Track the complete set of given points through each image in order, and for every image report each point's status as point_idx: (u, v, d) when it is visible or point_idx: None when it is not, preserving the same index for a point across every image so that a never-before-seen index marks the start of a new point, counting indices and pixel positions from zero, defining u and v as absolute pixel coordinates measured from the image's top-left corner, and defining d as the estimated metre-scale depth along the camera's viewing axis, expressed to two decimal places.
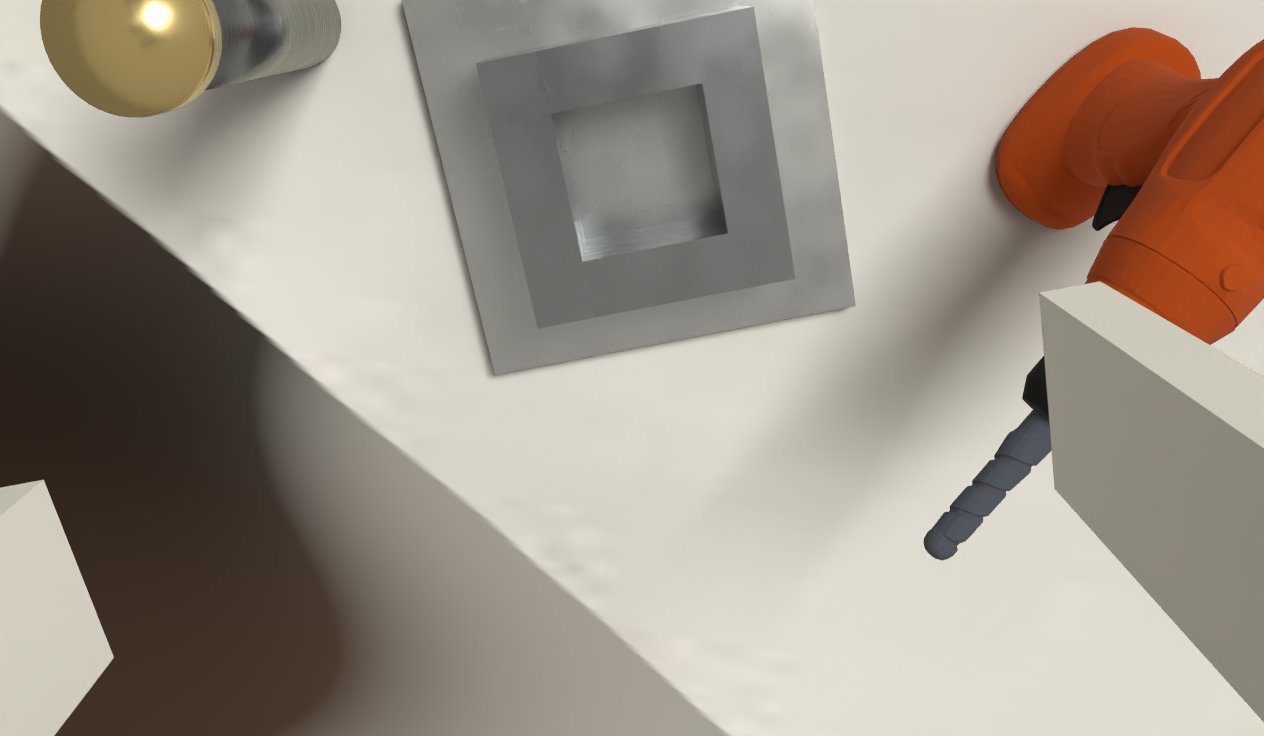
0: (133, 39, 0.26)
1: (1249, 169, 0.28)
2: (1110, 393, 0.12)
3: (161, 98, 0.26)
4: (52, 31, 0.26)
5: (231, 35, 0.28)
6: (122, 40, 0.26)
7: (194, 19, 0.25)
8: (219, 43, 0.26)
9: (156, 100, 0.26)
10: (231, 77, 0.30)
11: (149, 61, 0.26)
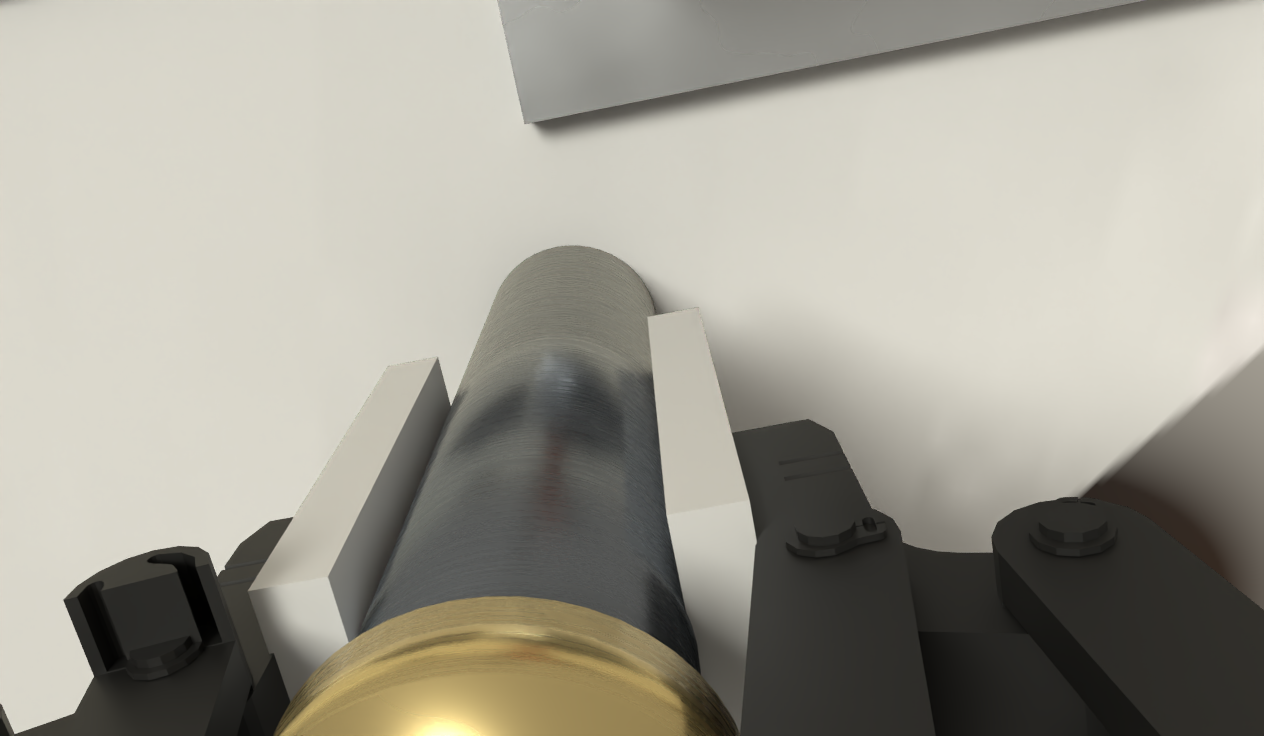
0: None
1: None
2: None
3: None
4: None
5: (536, 532, 0.10)
6: None
7: (439, 710, 0.07)
8: (537, 610, 0.08)
9: None
10: (658, 520, 0.11)
11: None
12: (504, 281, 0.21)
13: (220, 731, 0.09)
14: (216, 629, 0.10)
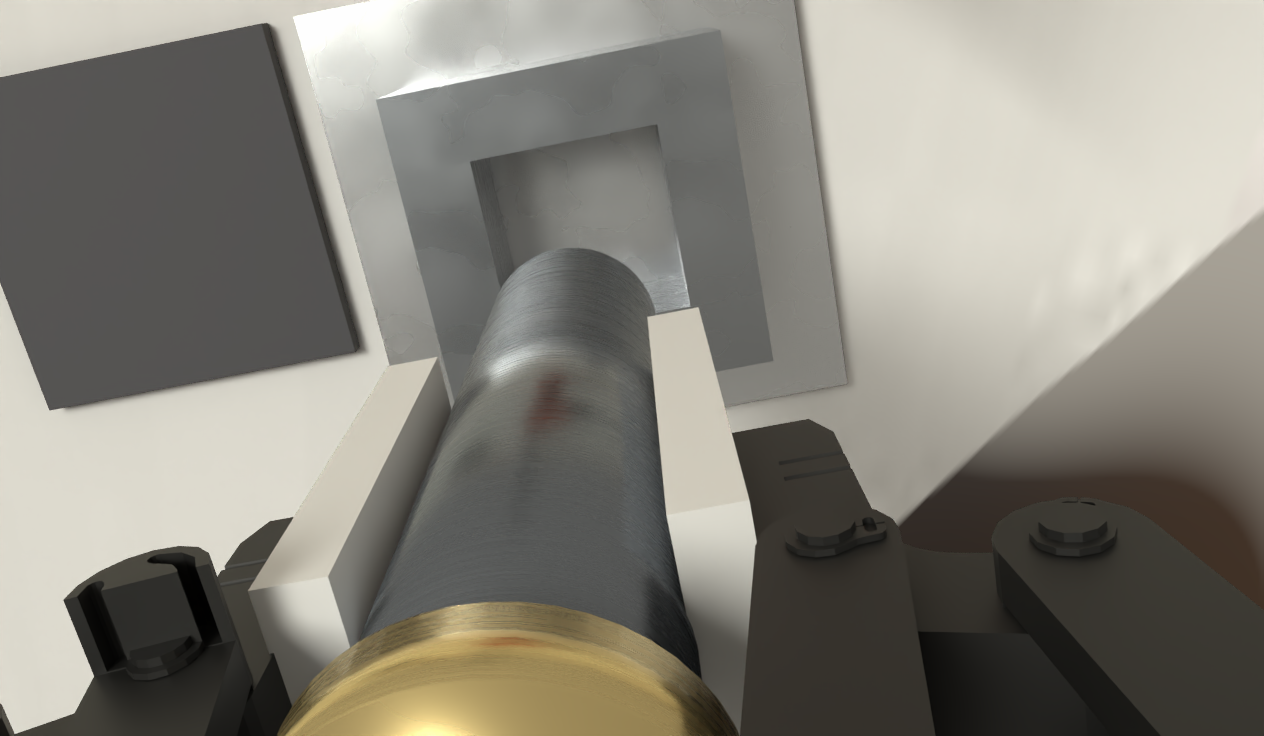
0: None
1: None
2: None
3: None
4: None
5: (536, 537, 0.10)
6: None
7: (440, 716, 0.07)
8: (538, 616, 0.08)
9: None
10: (659, 524, 0.11)
11: None
12: (504, 283, 0.21)
13: (220, 731, 0.09)
14: (216, 629, 0.10)
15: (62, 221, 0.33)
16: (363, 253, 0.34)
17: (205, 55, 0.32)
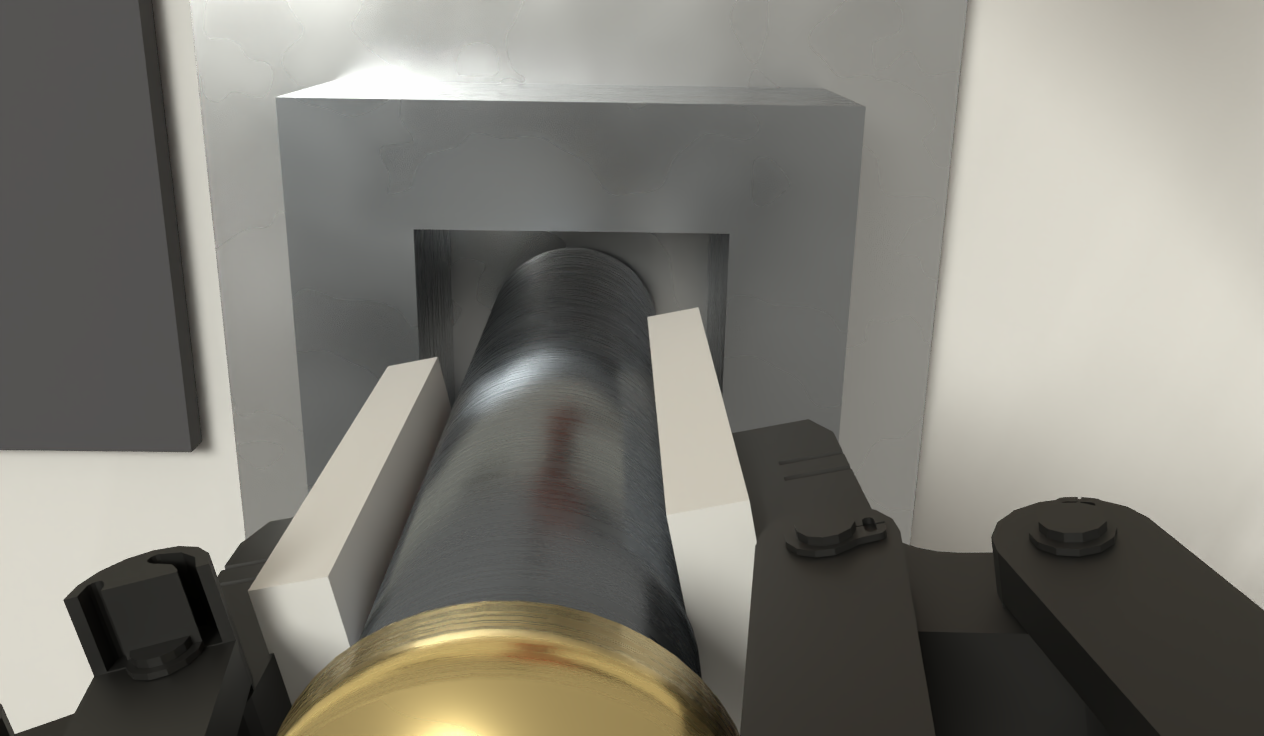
0: None
1: None
2: None
3: None
4: None
5: (537, 535, 0.10)
6: None
7: (441, 714, 0.07)
8: (540, 614, 0.08)
9: None
10: (659, 524, 0.11)
11: None
12: (505, 283, 0.21)
13: (220, 731, 0.09)
14: (216, 629, 0.10)
15: None
16: (229, 314, 0.22)
17: None
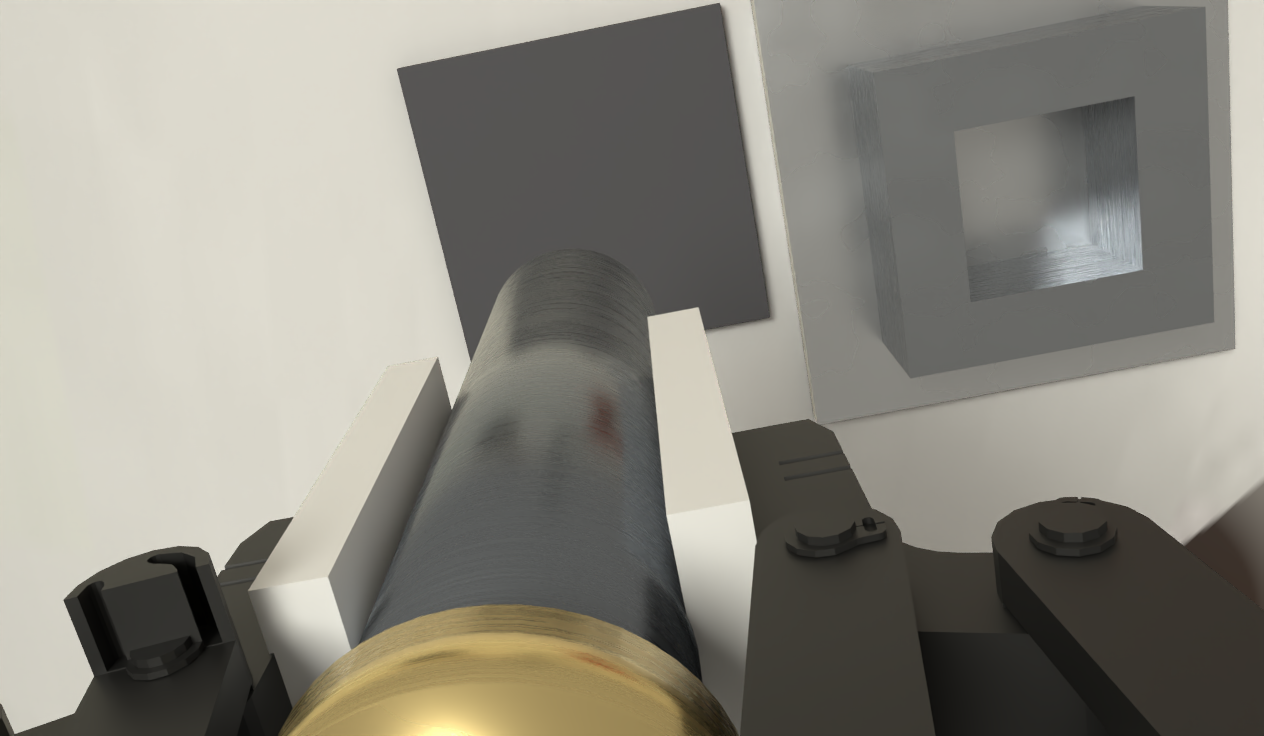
0: None
1: None
2: None
3: None
4: None
5: (537, 539, 0.10)
6: None
7: (441, 720, 0.07)
8: (538, 617, 0.08)
9: None
10: (659, 526, 0.11)
11: None
12: (505, 284, 0.21)
13: (220, 731, 0.09)
14: (216, 629, 0.10)
15: (508, 192, 0.35)
16: (791, 222, 0.35)
17: (663, 33, 0.34)
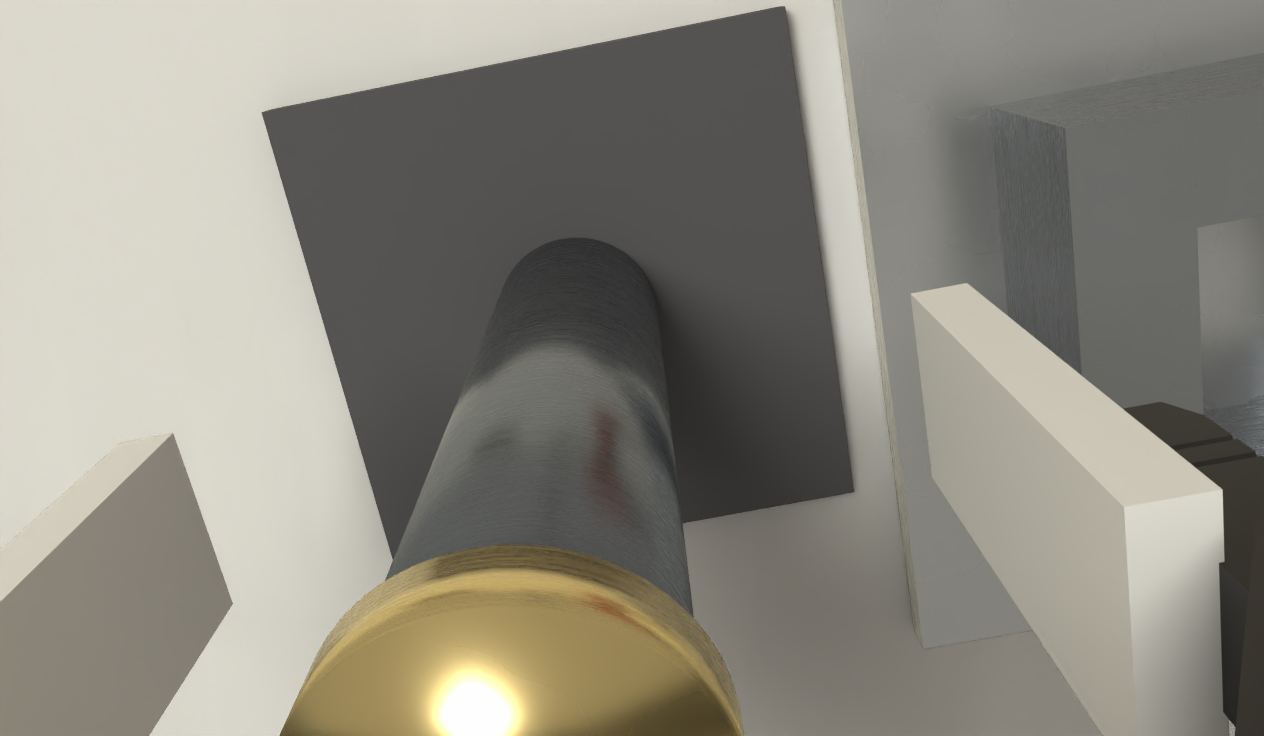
0: None
1: None
2: (959, 387, 0.13)
3: None
4: None
5: (543, 494, 0.11)
6: None
7: (460, 640, 0.08)
8: (545, 555, 0.09)
9: None
10: (656, 487, 0.12)
11: None
12: (511, 272, 0.22)
13: None
14: None
15: (446, 304, 0.22)
16: (893, 352, 0.22)
17: (693, 55, 0.21)
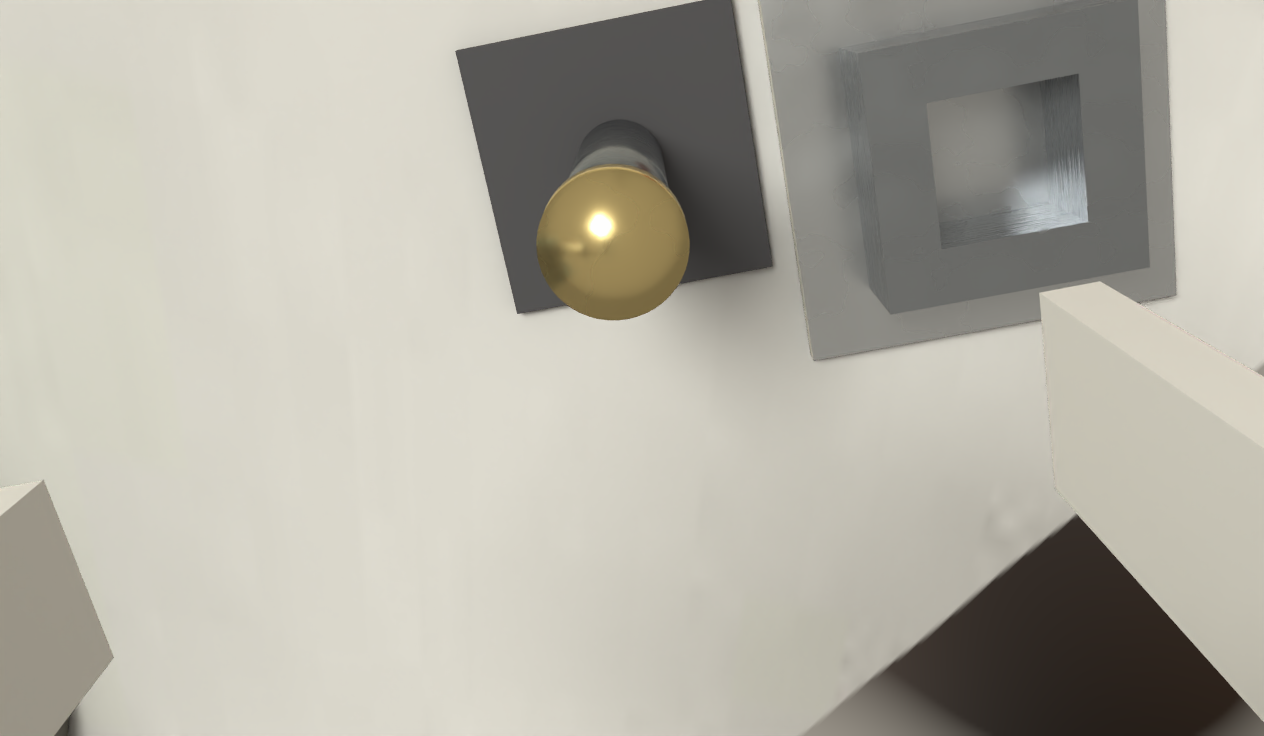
0: (618, 238, 0.27)
1: None
2: (1110, 392, 0.12)
3: (672, 220, 0.27)
4: (611, 310, 0.28)
5: None
6: (619, 248, 0.27)
7: (600, 179, 0.27)
8: (623, 165, 0.28)
9: (674, 225, 0.27)
10: (660, 180, 0.31)
11: (638, 226, 0.27)
12: (585, 137, 0.41)
13: None
14: None
15: (549, 156, 0.41)
16: (791, 183, 0.41)
17: (682, 21, 0.39)
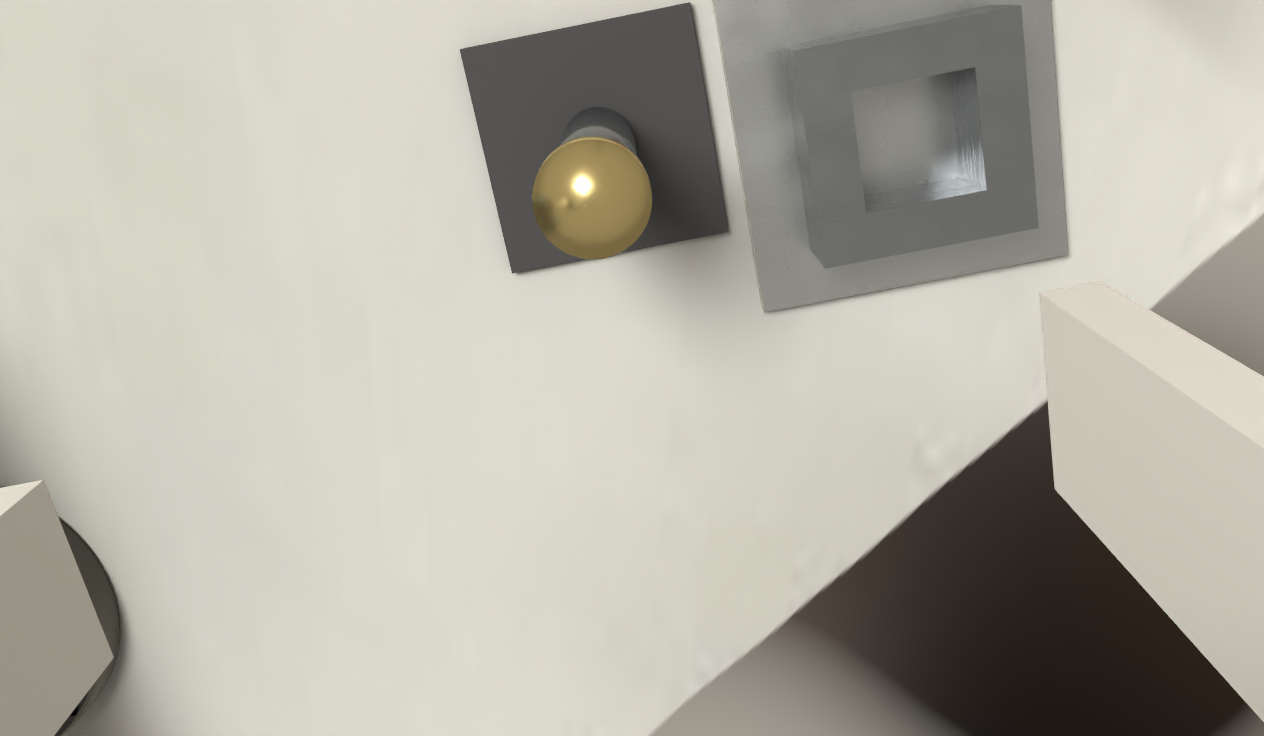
0: (596, 194, 0.35)
1: None
2: (1110, 393, 0.12)
3: (638, 179, 0.35)
4: (591, 251, 0.36)
5: None
6: (596, 202, 0.35)
7: (581, 147, 0.35)
8: (600, 137, 0.35)
9: (639, 183, 0.35)
10: None
11: (611, 184, 0.35)
12: (569, 122, 0.48)
13: None
14: None
15: (538, 138, 0.49)
16: (743, 161, 0.49)
17: (650, 24, 0.47)
